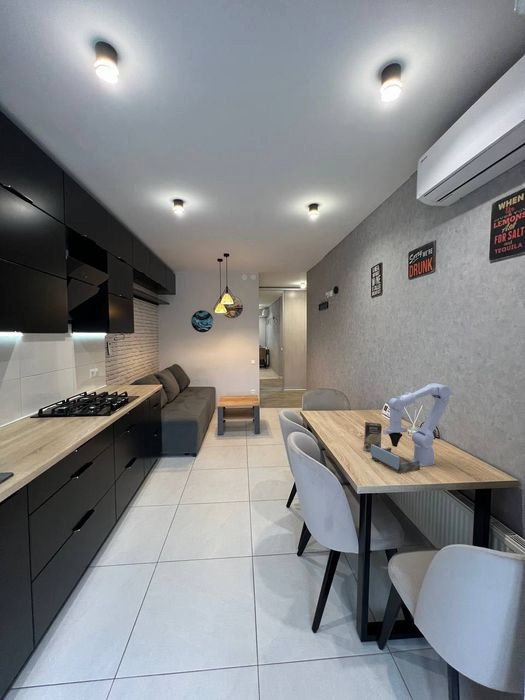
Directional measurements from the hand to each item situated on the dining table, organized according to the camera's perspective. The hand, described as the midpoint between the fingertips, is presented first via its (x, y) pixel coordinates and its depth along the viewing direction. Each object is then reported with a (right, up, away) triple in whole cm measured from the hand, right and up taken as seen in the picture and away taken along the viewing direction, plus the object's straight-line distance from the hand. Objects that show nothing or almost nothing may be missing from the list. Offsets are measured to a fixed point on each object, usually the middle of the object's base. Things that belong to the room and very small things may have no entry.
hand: (394, 446), depth 158 cm
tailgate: (-6, -7, -2) cm, 10 cm away
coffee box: (-5, -9, +19) cm, 21 cm away
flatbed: (0, -9, +1) cm, 9 cm away
